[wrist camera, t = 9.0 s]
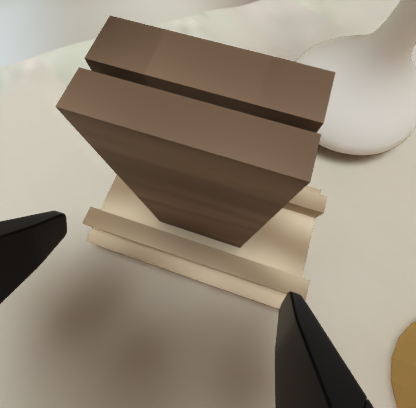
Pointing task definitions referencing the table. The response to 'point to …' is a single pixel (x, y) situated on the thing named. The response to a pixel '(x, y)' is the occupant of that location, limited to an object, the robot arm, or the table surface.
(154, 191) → the walnut photo frame
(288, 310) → the robot arm
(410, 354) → the decorative plaque
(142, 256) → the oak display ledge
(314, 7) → the table surface
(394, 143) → the flower in vase
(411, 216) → the table surface
